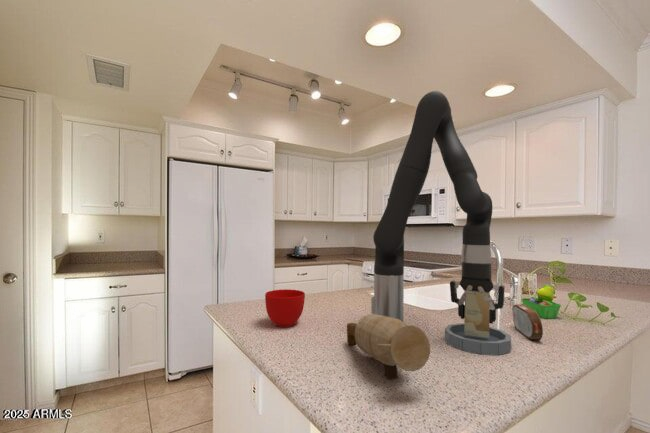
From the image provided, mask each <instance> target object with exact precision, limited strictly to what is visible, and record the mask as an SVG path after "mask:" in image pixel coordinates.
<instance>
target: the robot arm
mask: <svg viewBox="0 0 650 433" xmlns="http://www.w3.org/2000/svg"><path fill="white" fill-rule="evenodd" d="M434 140H435V142H436V144H437V146H438V148H439V152H440V155H441V158H442V160H443V164H444V167H445V169H446V171H447V174H448V175H449V178H450V180H451V182H452V184H453V189H454V194H455V197H456V201H457V204H458V206H459V208H460V209H461V210H462V212H464V213H465V214H466V224H464V226H463V227H462V246H461V258H460V259H461V280H458V281H457V280H454V279H453V280H451V281H450V282H449V287H450V288H449V289H450V300H451V302H452V303H454V304H456V305H457V308H458V309H457V310H458V311H457V313H458V314H457V315H458V316H459V317H460V319H461V320H464V317H465V290H468V291H471V290H472V291H479V292H480V293H484V294H485V295H484V300H485V301H486V302H490V316H489V324H491V325H492V324H494V323H495V322H496V319H497V310H499V309H501V310H502V309H503V307H504V306H505V305H504V303H505V288H506V286H505V285H503V284H501V285H498V284H494V283H493V281H492V251H491V231H490V229H491V223H492V215H493V200H492V198H491V196H490V195H489V194H488V193H486V192H485V191H483V190H482V189H481V186H480V184H479V182H478V173H477V171H476V168H475V166H474V164H473V162H472V159H471V157H470V156H469V153H468V152H467V150H466V148H465V146H464V145H463V143H462V142H461V140H460V137H459V136H458V133H457V130H456V128H455V124H454V120H453V115H452V108H451V106H450V102H449V100H448V97H446V95H445V94H444V93H443V92H441V91H438V90H432V91H429V92H427V93H425V94H424V95H423V96H422V97H421V99H420V100H419V101H418V104H417V107H416V109H415V114H414V119H413V123H412V126H411V131H410V134H409V136H408V139H407V141H406V144H405V147H404V150H403V152H402V156H401V159H400V161H399V163H398V165H397V169H396V172H395V174H394V177H393V181H392V185H391V188H390V191H389V196H388V199H387V204H386V207H385V209H384V212H383V214H382V216H381V219H380V221H379V222H378V224H377V226H376V228H375V231H374V232H373V236H372V238H373V243H374V245H375V250H374V251H375V256H374V258H375V259H374V266H373V273H374V274H373V275H374V277H373V282H374V284H373V296H372V297H371V304H370V305H371V312H370V314H377V315H381V316H386V317H391V318H395V319H399V320H401V321H402V322H404V317H405V316H404V311H405V309H404V308H405V307H404V305H405V304H404V297H405V296H404V280H405V279H404V274H405V272H404V269H405V267H404V266H405V231H406V227H407V223H408V219H409V217H410V214H411V211H412V209H413V207H414V206H415V204H416V202H417V200H418V198H419V196H420V194H421V192H422V190H423V187H424V184H425V181H426V179H427V176H428V174H429V169H430V165H431V158H432V150H433V142H434ZM459 286H460V287H461V288H462V289H463V291H464V292H463V294H462V295H461V296H460V298H459V297H458V290H457V289H458V288H459ZM492 290H494V291H495V293H496V294H497V303H495V301H494V300H493V298H492V296H491V295H490V298H489V297H488V295H487V294H486V293H490V292H491V291H492Z"/></svg>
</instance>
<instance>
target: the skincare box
mask: <svg viewBox="0 0 650 433" xmlns="http://www.w3.org/2000/svg"><path fill="white" fill-rule="evenodd" d="M464 292H465V302H464V305H465V317H464V319H463V320H464V322H463V323H464V333H465V334H466V335H472V336H479V337H486V338H489V327H490V323H489V316H490V302H486V301H485V300H484V295H485V294H484V293H480V292H479V291H472V290H471V291H468V290H465V291H464ZM486 294H487V295H488V297H489V298H490V296H491V293H490V292H489V293H486Z"/></svg>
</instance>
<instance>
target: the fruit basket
mask: <svg viewBox="0 0 650 433" xmlns="http://www.w3.org/2000/svg"><path fill="white" fill-rule="evenodd" d="M554 293H555V290H554V288H553V286H552V285H549V284H544V285H542V287H541V288H539V289H537V290H536V292H535V294H536V296H537V297H534V296H532V297H530V298H529V297H526V298H525V297H524V298H523V297H522V298H521V303H522V304H524V305H526V306H528V307H529V308H531V309H533V310H535V311H536V312H537V313H538V315H539V317H540V319H557V318H558V314H559V311H560V308H561V307H562V304H559V303H557V302H554V298H555V296H554Z"/></svg>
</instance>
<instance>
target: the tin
mask: <svg viewBox="0 0 650 433" xmlns="http://www.w3.org/2000/svg"><path fill="white" fill-rule="evenodd" d="M512 318H513V319H512V322H513V324H514V326H515V329H516V330H517V331H518V332H519V333H520V334H522V335H523V336H525V337H526V338H527V339H528V340H531V341H532V340H533V341H534V340H535V341H540V340H542V338H543V333H544V327H543V323H542V320H541V319H542V318H541V317H539V315H538V313H537V312H536V311H535V310H533V309H531V308H529V307H528V306H526V305H524V304H523V303H522V304H514V305H512Z"/></svg>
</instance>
